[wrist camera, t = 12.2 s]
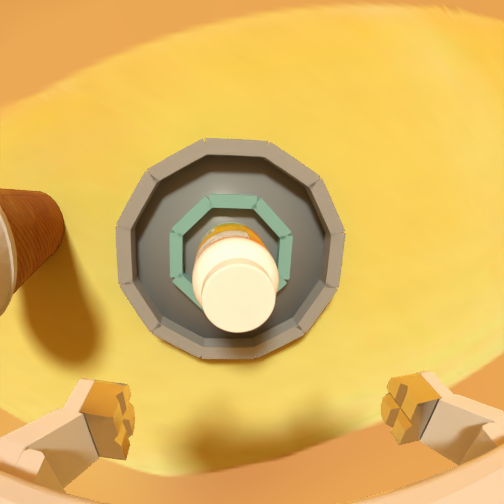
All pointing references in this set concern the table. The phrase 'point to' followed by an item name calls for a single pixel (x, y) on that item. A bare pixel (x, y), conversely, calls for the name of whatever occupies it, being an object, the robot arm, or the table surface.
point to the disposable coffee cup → (25, 237)
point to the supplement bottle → (235, 278)
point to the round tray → (228, 211)
